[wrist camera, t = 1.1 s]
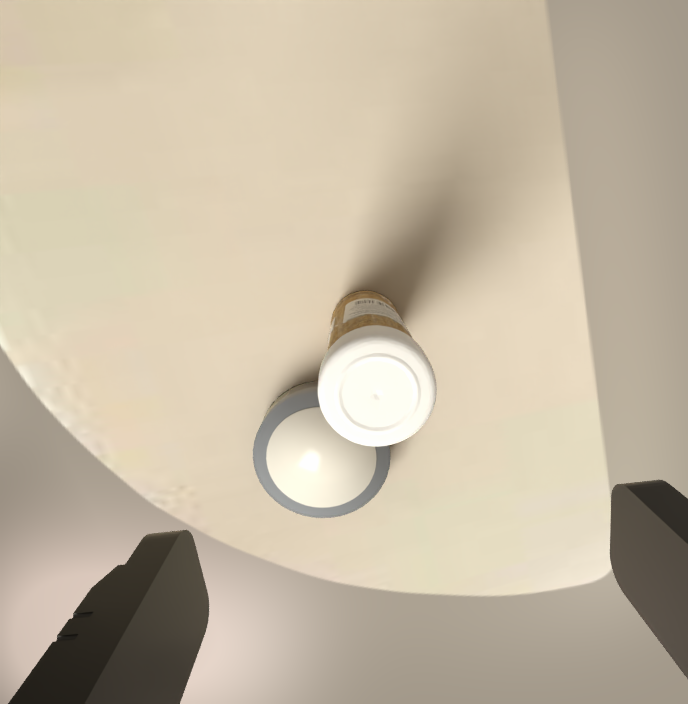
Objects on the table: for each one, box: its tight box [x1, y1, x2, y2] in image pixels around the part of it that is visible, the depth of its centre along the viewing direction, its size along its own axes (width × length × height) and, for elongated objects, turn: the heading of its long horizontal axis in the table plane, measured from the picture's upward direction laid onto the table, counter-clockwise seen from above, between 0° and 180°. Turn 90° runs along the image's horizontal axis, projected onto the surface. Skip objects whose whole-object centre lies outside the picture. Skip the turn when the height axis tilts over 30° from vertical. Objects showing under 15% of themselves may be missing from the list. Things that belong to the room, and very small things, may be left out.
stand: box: [253, 381, 390, 518], centre depth 31 cm, size 9×9×3 cm
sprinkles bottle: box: [318, 291, 436, 447], centre depth 23 cm, size 5×5×14 cm
